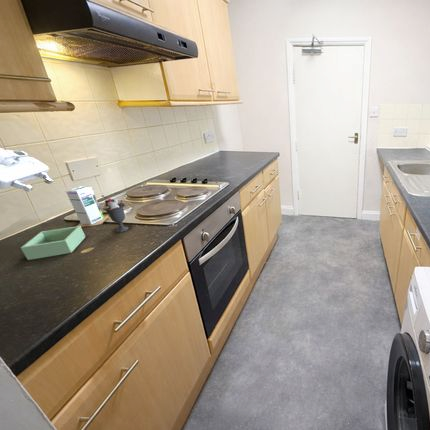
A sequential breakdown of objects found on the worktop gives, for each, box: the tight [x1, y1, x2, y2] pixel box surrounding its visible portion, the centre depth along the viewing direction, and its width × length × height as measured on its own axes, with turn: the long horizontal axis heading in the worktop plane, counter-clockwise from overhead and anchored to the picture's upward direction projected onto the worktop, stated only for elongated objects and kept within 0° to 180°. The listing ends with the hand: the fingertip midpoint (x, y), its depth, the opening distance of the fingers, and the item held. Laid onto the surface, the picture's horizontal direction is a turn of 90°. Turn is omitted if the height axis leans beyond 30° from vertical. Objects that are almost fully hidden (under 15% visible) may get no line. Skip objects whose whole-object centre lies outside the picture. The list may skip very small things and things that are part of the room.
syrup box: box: [65, 185, 105, 224], centre depth 107 cm, size 6×6×14 cm
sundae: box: [101, 194, 129, 233], centre depth 100 cm, size 7×7×15 cm
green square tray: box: [20, 225, 86, 261], centre depth 90 cm, size 11×11×5 cm
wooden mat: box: [76, 214, 110, 228], centre depth 110 cm, size 9×9×1 cm
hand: (41, 186), depth 101 cm, fingers open, 8 cm apart
